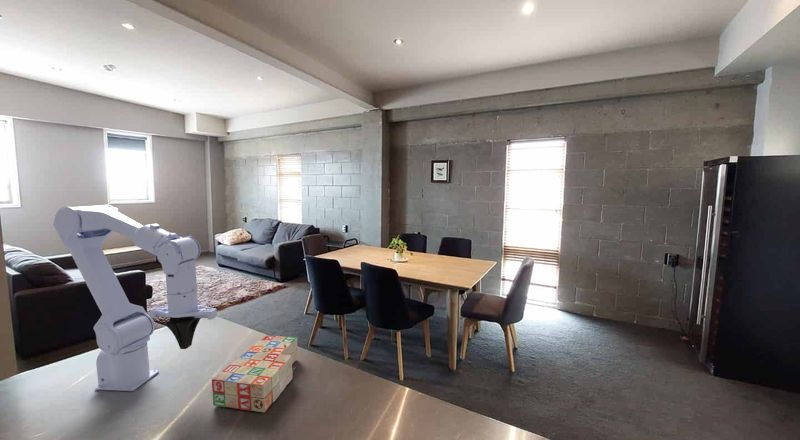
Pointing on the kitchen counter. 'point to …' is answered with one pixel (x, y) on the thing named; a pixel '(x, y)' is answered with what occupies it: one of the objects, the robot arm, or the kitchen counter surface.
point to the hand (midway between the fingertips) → (186, 347)
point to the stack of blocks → (256, 375)
